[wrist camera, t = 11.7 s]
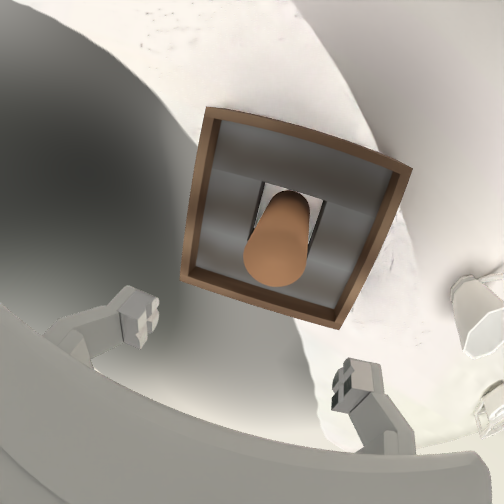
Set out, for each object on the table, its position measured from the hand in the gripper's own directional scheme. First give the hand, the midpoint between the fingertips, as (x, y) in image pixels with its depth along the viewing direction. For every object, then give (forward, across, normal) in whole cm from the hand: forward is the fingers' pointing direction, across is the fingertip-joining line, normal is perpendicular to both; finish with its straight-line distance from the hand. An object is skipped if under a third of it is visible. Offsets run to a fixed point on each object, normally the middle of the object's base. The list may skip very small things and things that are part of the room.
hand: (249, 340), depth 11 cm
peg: (+17, 0, +1) cm, 17 cm away
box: (+17, 0, +1) cm, 17 cm away
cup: (+18, -24, +1) cm, 30 cm away
